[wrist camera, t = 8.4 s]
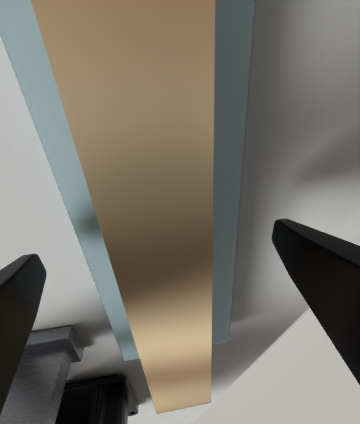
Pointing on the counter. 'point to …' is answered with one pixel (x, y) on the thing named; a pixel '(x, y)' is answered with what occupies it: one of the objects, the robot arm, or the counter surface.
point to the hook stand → (41, 377)
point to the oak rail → (147, 167)
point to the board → (73, 174)
